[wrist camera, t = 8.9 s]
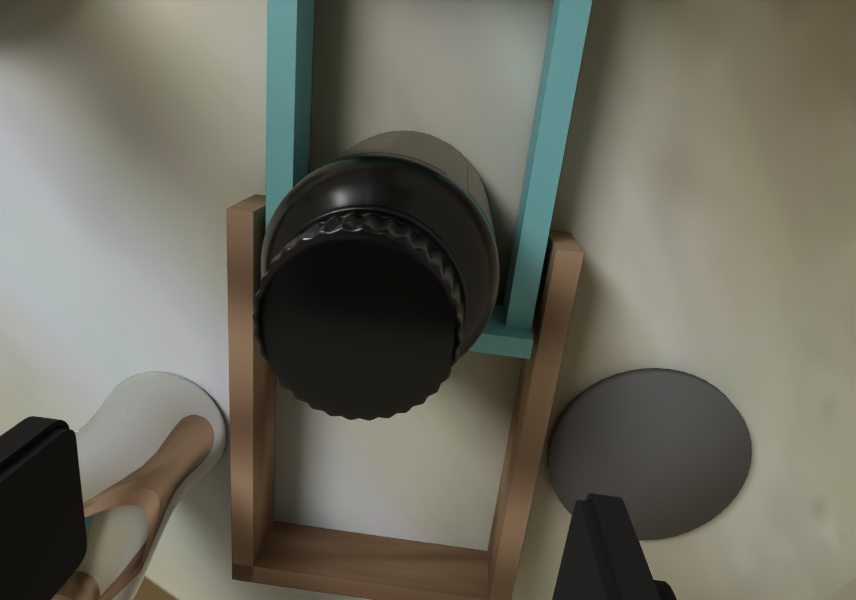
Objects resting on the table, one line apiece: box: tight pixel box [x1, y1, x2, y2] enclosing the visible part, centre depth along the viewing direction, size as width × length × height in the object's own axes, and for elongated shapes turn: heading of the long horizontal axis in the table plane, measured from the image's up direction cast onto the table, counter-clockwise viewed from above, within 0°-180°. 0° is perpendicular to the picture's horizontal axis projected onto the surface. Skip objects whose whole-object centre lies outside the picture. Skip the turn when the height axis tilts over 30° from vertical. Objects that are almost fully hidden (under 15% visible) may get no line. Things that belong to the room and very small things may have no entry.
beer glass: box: [51, 372, 226, 600], centre depth 21 cm, size 7×7×15 cm
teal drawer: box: [266, 0, 592, 359], centre depth 20 cm, size 16×11×4 cm, turn 174°
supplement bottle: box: [252, 131, 499, 421], centre depth 18 cm, size 7×7×12 cm
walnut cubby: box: [227, 195, 584, 600], centre depth 26 cm, size 18×13×3 cm
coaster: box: [548, 368, 752, 540], centre depth 27 cm, size 9×9×1 cm
